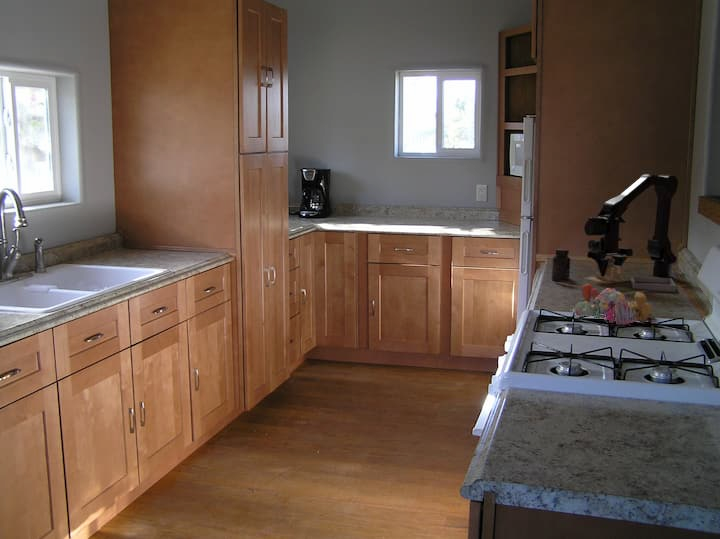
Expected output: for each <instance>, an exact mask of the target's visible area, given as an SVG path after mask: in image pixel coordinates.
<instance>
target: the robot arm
mask: <svg viewBox="0 0 720 539" xmlns="http://www.w3.org/2000/svg"><path fill="white" fill-rule="evenodd" d="M651 186H654V192H655V194H656V198H657V202H656V204H657V205H656V213H655V214H656V215H655V223H654V235H653V236H652V238H648V239H647V246H646V250H647V253H648V255H649V259H650V260H651V261H653V269H652V274H650V275H649V277H650V276H652V277H654V278H671V279H673V278H675V277H674V276H673V275H671V273H672V264H675V263H676V261H677V259H678V258H677V256H676V255H675V253H673V251H672V243H671V241H670V237H669V226H670V217H671V208H672V200H673V197H674V195H675V194H676V193H677V190H678V186H679V179H678V178H677V177H676V175H671V174H659V175H656V174H652V173H644V174H642V175H641V176H640V177H639V179H637V180H636V181H635V182H634V183H632V184H631V185H630V186H629V187H627V189H624V191H622V192H621V194H619V195H617V196H615V197H613V198H610V199H609V200H607V201H605V202H604V203H603V204H602V208H601V209H600V211H599V212H598V214H597V215H596V217H587V218H588V219H587V221H586V222H585V224H584V233H585V235H586V236H587V237H591V236H592V237H593V236H601V237H600V239H599V241H596V240H595V239H591V240H588V243H587V248H588V249H589V250H588V251H587V255H586V256H587V257H586V258H589V259H592V261H593V260H594V261H595V262H596V264H597V265H598V267H599V270H600V274H601V276H603V277H604V275H605V272H606V268H607V265H608V261H609V259H606V258H607V257H609V256H610V258H611V259H615V261H614V263H613V265H617V266H622V267H623V264H624V263H625V262H626V260H627V259H629V257H633V256H634V255H633V254H634V250H633V249H632V248H631V247H630V248H629V247H626V246H625V247H624V246H620V241H622V237H620V232H621V231H620V230H621V224H624V223H626V220H625V219H624V218H623V217H622V216H623V215H624V214H625V212H627V210H628V208H629V205H630V204H631V203H632V202H634V201H635V199H637V198H638V197H639V196H640V195H641V194H643V193H644V192H645V191H647V189H649V188H650V187H651Z"/></svg>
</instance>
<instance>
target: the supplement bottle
mask: <svg viewBox="0 0 720 539" xmlns="http://www.w3.org/2000/svg"><path fill="white" fill-rule="evenodd" d="M554 254H555V255H554V256H553V257H552V260H551V264H552V265H551V281H553V282H557V283H562V281H570V279H571V267H572V265H571V264H572V258H571V257H570V256H569V249H567V248H566V249H565V248H556V249H555V252H554Z"/></svg>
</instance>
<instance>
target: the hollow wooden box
mask: <svg viewBox="0 0 720 539" xmlns="http://www.w3.org/2000/svg"><path fill="white" fill-rule="evenodd" d="M622 269H623V265H622V266H617V265H613V267H607V268H606V272H605V275H604V277H603V276H601V274H600V270H599V267H598V264H597V265H596V273H595V274H596V275H595V276H596V278H598V279H603V280H607V281H621V282H623V281H622V279H623V275H622V272H623V270H622Z"/></svg>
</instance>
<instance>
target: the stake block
mask: <svg viewBox="0 0 720 539" xmlns="http://www.w3.org/2000/svg"><path fill="white" fill-rule="evenodd" d="M606 259H609V261H608V265H607V267H613V263H614V261H615V259H612V257H610V258H609V257H606ZM582 279H584V280H588V281H593V282H598V283H602V284H612V283H613V284H614V283H620V282H629V279H624V278H622V281H607V280H603V279H598V278H596V275H595V276H588V277H582Z"/></svg>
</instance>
